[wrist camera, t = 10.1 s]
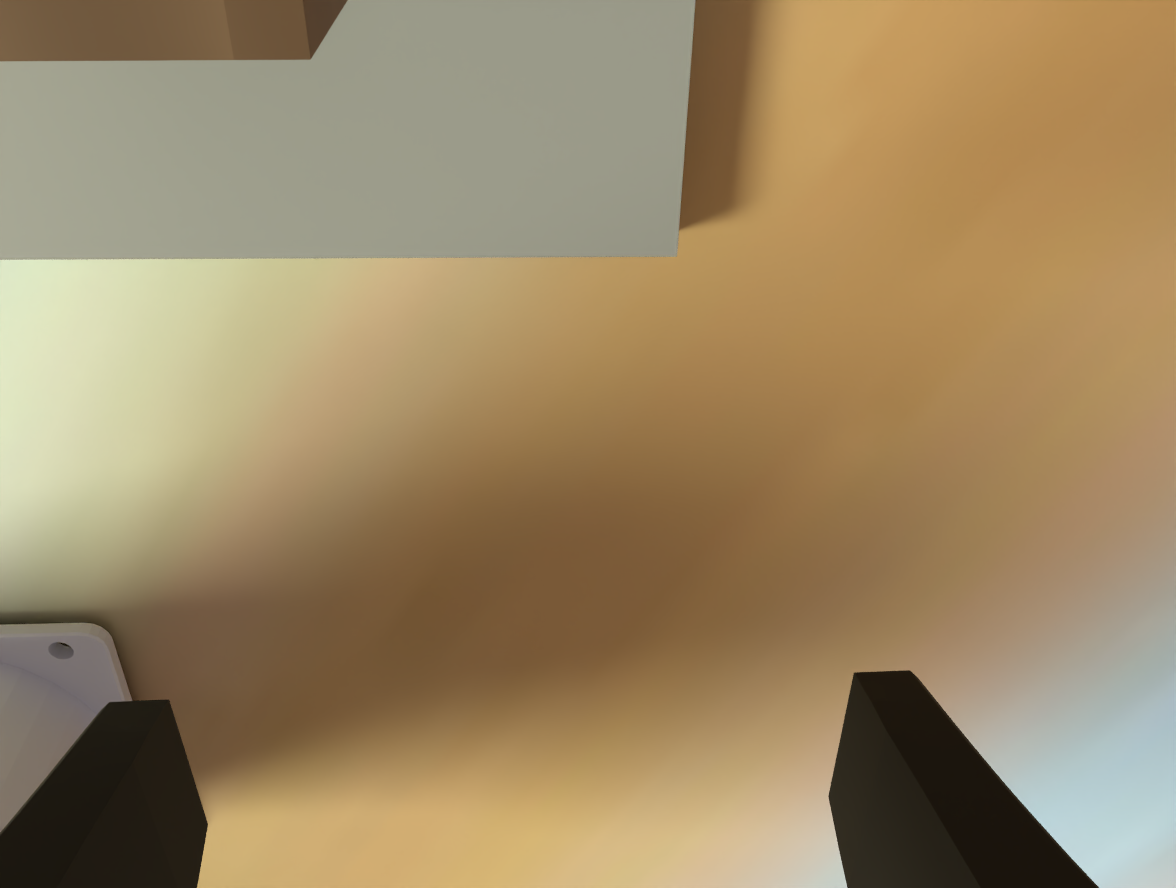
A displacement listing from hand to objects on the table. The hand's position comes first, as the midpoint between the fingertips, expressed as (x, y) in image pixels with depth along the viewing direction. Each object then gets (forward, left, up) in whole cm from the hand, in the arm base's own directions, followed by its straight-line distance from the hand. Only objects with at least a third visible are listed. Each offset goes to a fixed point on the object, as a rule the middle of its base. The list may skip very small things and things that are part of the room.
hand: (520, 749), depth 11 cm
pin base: (-4, +9, -10) cm, 14 cm away
